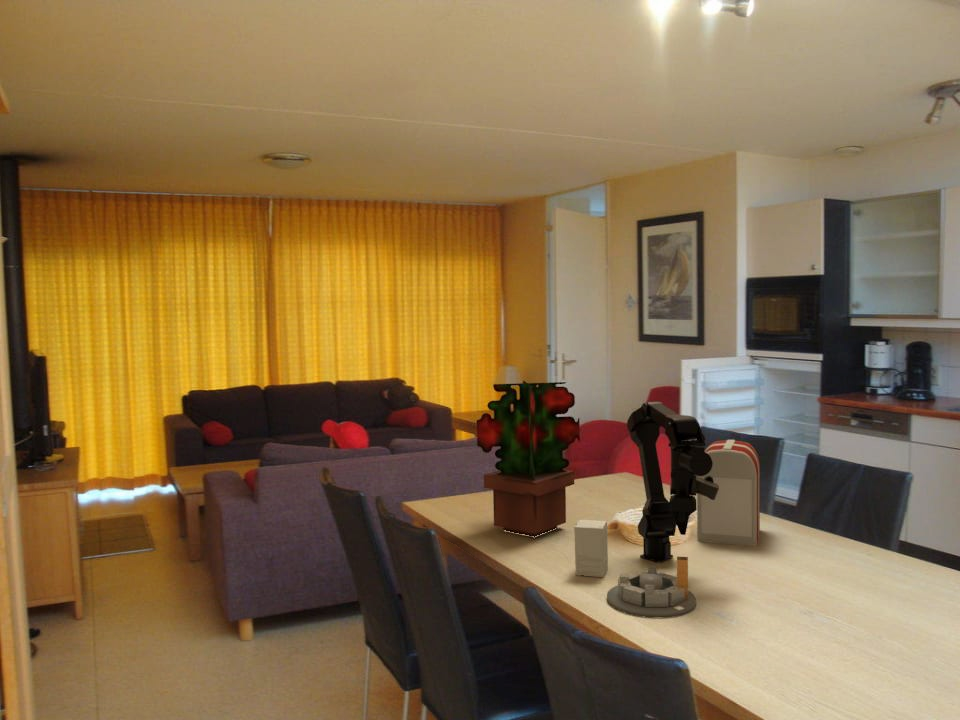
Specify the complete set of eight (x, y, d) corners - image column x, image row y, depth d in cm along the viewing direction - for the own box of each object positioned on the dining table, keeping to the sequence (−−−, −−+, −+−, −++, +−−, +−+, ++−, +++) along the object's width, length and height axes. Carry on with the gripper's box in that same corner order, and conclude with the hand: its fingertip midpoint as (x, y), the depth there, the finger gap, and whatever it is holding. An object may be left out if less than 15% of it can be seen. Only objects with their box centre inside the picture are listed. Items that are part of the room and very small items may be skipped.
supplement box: (608, 568, 206) (608, 520, 205) (603, 578, 199) (603, 528, 198) (580, 566, 209) (580, 518, 208) (574, 575, 202) (573, 526, 201)
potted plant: (580, 528, 245) (578, 381, 242) (538, 545, 228) (535, 388, 225) (523, 517, 259) (520, 378, 256) (479, 532, 242) (475, 384, 239)
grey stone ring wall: (606, 595, 183) (606, 557, 183) (643, 580, 193) (643, 543, 193) (660, 612, 173) (660, 571, 172) (697, 595, 182) (697, 556, 182)
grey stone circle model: (589, 601, 184) (588, 577, 183) (641, 579, 197) (641, 558, 197) (662, 625, 169) (662, 599, 169) (713, 600, 183) (713, 576, 182)
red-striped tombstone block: (696, 541, 229) (695, 447, 227) (703, 525, 245) (703, 437, 243) (757, 546, 223) (757, 450, 221) (760, 529, 239) (760, 440, 237)
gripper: (718, 476, 185) (718, 543, 186) (715, 461, 203) (715, 521, 204) (669, 475, 188) (669, 540, 189) (670, 460, 206) (670, 519, 207)
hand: (682, 530), depth 197 cm, fingers open, 7 cm apart
